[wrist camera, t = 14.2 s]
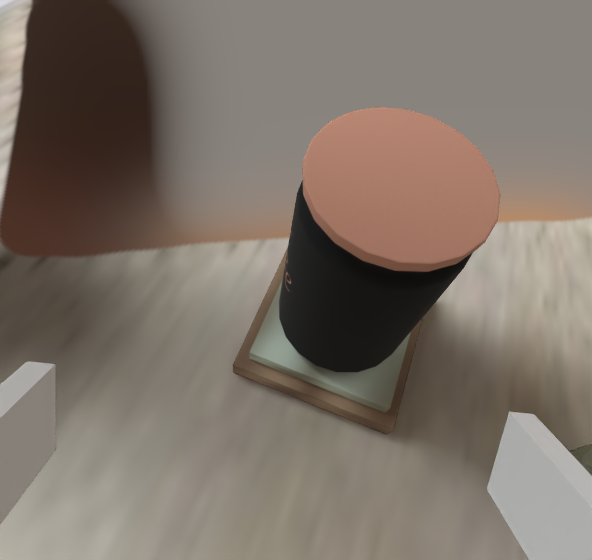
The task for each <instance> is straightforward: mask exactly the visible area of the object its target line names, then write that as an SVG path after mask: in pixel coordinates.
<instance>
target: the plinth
mask: <svg viewBox="0 0 592 560" xmlns="http://www.w3.org/2000/svg"><path fill="white" fill-rule="evenodd" d="M287 251H288V248H287V250H286V252H285V254H284V257H283V259H282V261H281V263H280V265H279V267H278V269H277V272H276V274H275V276H274V278H273V280H272V282H271V285H270V287H269V289H268V291H267V293H266V295H265V297H264V300H263V302H262V304H261V306H260V308H259V310H258V312H257V315H256V317H255V319H254V321H253V323H252V325H251V327H250V330H249V332H248V334H247V336H246V338H245V340H244V342H243V345H242V347H241V349H240V351H239V353H238V355H237V357H236V360H235V362H234V364H233V372H234V373H237V374H239V375H242V376H244V377H247V378H249V379H251V380H254V381H256V382H259V383H261V384H264V385H266V386H269V387H271V388H274V389H276V390H279V391H281V392H284V393H286V394H288V395H291V396H293V397H296V398H298V399H301V400H303V401H306V402H308V403H311V404H313V405H316V406H318V407H321V408H323V409H325V410H328V411H330V412H333V413H335V414H338V415H340V416H343V417H345V418H348V419H350V420H353V421H355V422H358V423H360V424H362V425H365V426H367V427H370V428H372V429H375V430H377V431H380V432H382V433H385V434H388V433H389V432H390V431H392V430H393V429H394V425H395V421H396V417H397V414H398V410H399V406H400V402H401V398H402V394H403V391H404V387H405V383H406V379H407V375H408V372H409V368H410V364H411V360H412V356H413V353H414V349H415V345H416V341H417V337H418V334H419V330H420V326H421V322H422V319H421V320H420V321H419V322H418V324H417V325H416V326H415V327H414V328H413V330H412V331H411V332H410V333H409V334H408V336H407V337H406V338H405V339H404V340H403V342H402V343H401V344H400V345H399V346H398V348H397V349H396V350H395V351H394V352H393V354H392V355H391V356H389V357H388V358H387V359H385V360H384V361H383V362H381V363H380V364H379V365H377V366H376V367H373V368H370V369H366V370H363V371H360V372H334V371H331V370H328V369H325V368H322V367H319V366H316V365H314V364H313V363H312V362H310V361H309V360H307V359H306V358H304V357H303V356H302V355H300V354H299V353H298V352H297V351H296V350H295V348H294V347H293V346H292V344H291V343H290V342H289V340H288V339H287V338H286V336H285V333H284V330H283V328H282V325H281V322H280V319H279V298H280V293H281V287H282V281H283V275H284V269H285V263H286V257H287Z"/></svg>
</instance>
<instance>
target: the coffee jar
mask: <svg viewBox="0 0 592 560" xmlns="http://www.w3.org/2000/svg"><path fill="white" fill-rule="evenodd" d="M302 174H303V180H302V183H301V185H300V187H299V190H298V193H297V198H296V203H295V209H294V215H293V221H292V227H291V233H290V239H289V245H288V251H287V257H286V263H285V269H284V275H283V281H282V287H281V293H280V298H279V319H280V322H281V325H282V328H283V330H284V333H285V336H286V338H287V339H288V340H289V342H290V343H291V344H292V346H293V347H294V348H295V350H296V351H297V352H298V353H299V354H300V355H302V356H303V357H304V358H306V359H307V360H309V361H310V362H312V363H313V364H314V365H316V366H319V367H322V368H325V369H328V370H331V371H334V372H360V371H363V370H366V369H370V368H373V367H376V366H377V365H379V364H380V363H381V362H383V361H384V360H385V359H387V358H388V357H389V356H391V355H392V354H393V352H394V351H395V350H396V349H397V348H398V346H399V345H400V344H401V343H402V342H403V340H404V339H405V338H406V337H407V336H408V334H409V333H410V332H411V331H412V330H413V328H414V327H415V326H416V325H417V324H418V322H419V321H420V320H421V319H422V318H423V316H424V315H425V314H426V313H427V312H428V310H429V309H430V308H431V307H432V306H433V304H434V303H435V302H436V301H437V300H438V298H439V297H440V296H441V295H442V293H443V292H444V291H445V290H446V289H447V287H448V286H449V285H450V284H451V283H452V281H453V280H454V279H455V278H456V277H457V275H458V274H459V273H460V272H461V271H462V269H463V268H464V267H465V265H466V263H467V262H468V260H469V258H470V256H471V255H472V253H473V252H474V251H475V250H477V249H478V248H479V247H480V246H481V245H482V244H483V243H484V242H485V241H486V239H487V238H488V236H489V234H490V233H491V231H492V229H493V227H494V226H495V224H496V222H497V221H498V213H499V203H500V193H499V189H498V185H497V182H496V179H495V176H494V172H493V170H492V169H491V167H490V166H489V164H488V163H487V161H486V160H485V158H484V157H483V155H482V154H481V152H480V151H479V149H478V148H476V147H475V146H474V145H473V144H472V143H471V142H470V141H468V140H467V139H466V138H465V137H464V136H463V135H462V134H461V133H459V132H458V131H457V130H455V129H453V128H451V127H449V126H448V125H446V124H444V123H442V122H440V121H438V120H437V119H435V118H433V117H430V116H427V115H423V114H419V113H416V112H413V111H409V110H406V109H396V108H381V107H375V108H369V109H363V110H358V111H352V112H349V113H347V114H345V115H343V116H341V117H339V118H337V119H335V120H332V121H330V122H328V123H327V125H325V127H324V128H323V129H322V130H321V131H320V132H319V133H318V134H317V135H316V136H315V137H314V138H313V139H312V140H311V142H310V145H309V147H308V150H307V152H306V155H305V158H304V160H303V168H302Z"/></svg>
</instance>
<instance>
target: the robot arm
mask: <svg viewBox="0 0 592 560" xmlns="http://www.w3.org/2000/svg"><path fill="white" fill-rule="evenodd" d="M55 450H56V364H50V363H40V362H31V361H27V362H26V363H24V364H23V365H22V366H21V367H20V368H19V369H17V370H16V371H15V372H14V373H13V374H12V375H10V376H9V377H8V378H7V379H6V380H5V381H3V382H2V383H1V384H0V524H1V523H2V522H3V520H4V519H5V518H6V516H7V515H8V513H9V512H10V511H11V509H12V508H13V507H14V505H15V504H16V503H17V501H18V500H19V499H20V497H21V496H22V495H23V493H24V492H25V490H26V489H27V488H28V486H29V485H30V484H31V482H32V481H33V480H34V478H35V477H36V476H37V474H38V473H39V471H40V470H41V469H42V467H43V466H44V465H45V463H46V462H47V461H48V459H49V458H50V457H51V455H52V454H53V452H54V451H55ZM487 490H488V492H489V494H490V495H491V497H492V499H493V501H494V502H495V504H496V506H497V507H498V509H499V511H500V512H501V514H502V516H503V517H504V519H505V521H506V522H507V524H508V526H509V527H510V529H511V531H512V532H513V534H514V536H515V537H516V539H517V541H518V542H519V544H520V546H521V547H522V549H523V551H524V552H525V554H526V556H527V557H528V559H529V560H592V476H591V474H590V473H589V472H588V471H587V470H586V469H585V468H584V467H583V466H582V465H581V464H580V463H579V462H578V461H577V460H576V458H575V457H574V456H573V455H572V454H571V453H570V452H569V451H568V450H567V449H566V448H565V447H564V446H563V445H562V444H561V442H560V441H559V440H558V439H557V438H556V437H555V436H554V435H553V434H552V433H551V432H550V431H549V430H548V429H547V428H546V426H545V425H544V424H543V423H542V422H541V421H540V420H539V419H538V418H537V417H536V416H535V415H534V414H528V413H518V412H509V414H508V417H507V421H506V424H505V428H504V431H503V435H502V438H501V442H500V445H499V448H498V452H497V455H496V459H495V462H494V466H493V469H492V473H491V476H490V479H489V483H488V486H487Z"/></svg>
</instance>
